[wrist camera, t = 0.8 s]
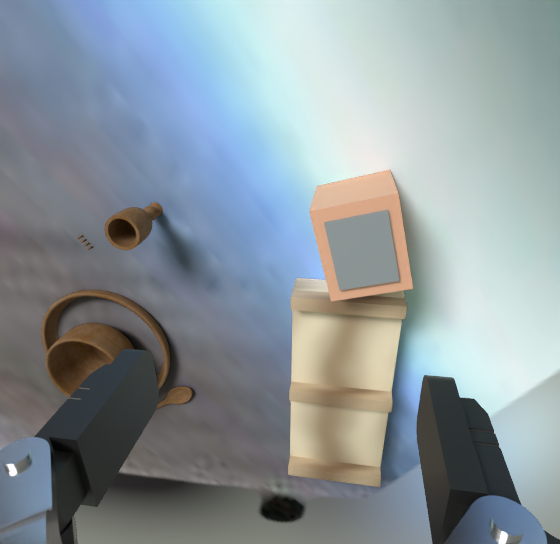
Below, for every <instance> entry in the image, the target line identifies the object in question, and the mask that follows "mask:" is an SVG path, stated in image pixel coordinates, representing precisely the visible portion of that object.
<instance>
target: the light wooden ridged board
mask: <svg viewBox="0 0 560 544" xmlns="http://www.w3.org/2000/svg"><path fill="white" fill-rule="evenodd" d="M291 310H293V325H292V381H291V387H290V394H289V401H291V436H290V460H289V466H288V475H294V476H302V477H309V478H316V479H324V480H331V481H339V482H346V483H354V484H361V485H369V486H376V487H380V483H381V470H380V466H381V459H382V452H383V446H384V439H385V432H386V425H387V419H388V412H391V410H392V404H393V401H392V392H391V391H392V385H393V378H394V371H395V364H396V358H397V351H398V344H399V337H400V331H401V324H402V319H405V318H406V311H407V304H406V299H405V295H404V290H403V291H396V292H390V293H383V294H377V295H370V296H364V297H357V298H351V299H344V300H338V301H331V299H330V295H329V291H328V287H327V282H326V280H319V279H305V278H296V281H295V285H294V288H293V292H292V296H291Z"/></svg>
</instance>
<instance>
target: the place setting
mask: <svg viewBox="0 0 560 544" xmlns="http://www.w3.org/2000/svg"><path fill="white" fill-rule="evenodd" d="M162 212H163V209H162V207H161V205H160V204H158V203H151V204H150V206H147V207H145V208H144V209H141V208H137V207H131V208H127V209H124V210H122V211H120V212H118V213H116V214H115V215H113V216H112V217H111V218H109V219H108V220H107V222H106V224H105V235H106V237H107V239H108V241H109V242H110V243H111V244H112V245H113V246H115V247H116V248H118V249H121V250H130V249H133V248H134V247H136V246H137V245H139V244H140V243H141V242H142V241H143V240H144V239H145V238H146V237H147V236H148V235H149V234H150V232H151V229H152V220H154V219H156V217H157V216H160V215H161V214H162ZM81 237H82V235H81V236H79V237H78V239H80V238H81ZM84 241H85V239H83V240H82V241H81V243H82V242H84ZM88 243H89V242H88ZM88 243H86V244H85V245H84V246H86V245H87V244H88ZM91 247H92V246H90V247H89V248H88V249H87V250H89V249H90V248H91ZM83 296H93V297H100V298H104V299H108V300H111V301H114V302H116V303H119V304H121V305H122V306H124V307H126V308H128V309H129V310H131V311H132V312H134V313H135V314H136V315H138V316H139V317H140V318H141V319H142V320H143V321H144V322H145V323H146V324H147V325H148V326H149V327H150V328H151V330H152V331H153V332H154V334H155V335H156V337H157V339H158V341H159V343H160V345H161V348H162V351H163V354H164V363H163V366H162V369H161V371H160V373H159V374H158V376H157V383H158V388H159V389H160V388H161V387H162V385H163V384H164V382H165V380H166V378H167V375H168V372H169V368H170V351H169V346H168V343H167V339H166V337H165V335H164V333H163V331H162V329H161V328H160V326H159V325H158V323H157V322H156V321H155V320H154V318H153V317H152V316H151V315H150V314H149V313H148V312H147V311H145V310H144V309H143V308H142V307H141V306H139V305H138V304H136V303H135V302H133V301H131V300H129V299H128V298H126V297H123V296H121V295H118V294H115V293H112V292H108V291H102V290H82V291H78V292H73V293H71V294H68V295H66V296H64V297H63V298H61V299H59V300H58V301H56V302H55V303H54V304H53V305H52V306H51V307H50V308H49V310H48V311H47V312H46V314H45V316H44V319H43V322H42V329H41V335H42V342H43V346H44V349H45V352H46V354H47V355H46V369H47V372H48V374H49V376H50V378H51V380H52V382H53V383H54V384H55V386H56V387H57V388H58V389H59V390H60V391H61V392H62V393H64V394H65V395H66V396H68V397H69V398H70V396H71V395H72V394H73V393H74V392H75V390H76V389H79V386H80V385H81V384H82V383H83V381H84V380H85V379H86V378H87V377H88V376H89V375H90V374H91V373H92V372H94V371H96V370H97V369H99V368H100V367H102V366H103V365H105V364H111V363H112V362H113V361H114V359H115V358H116V357H117V356H118V355H119V353H120V352H121V351H122V350H124V349H134V348H133V346H132V344H131V343H130V341H129V340H128V339H127V337H125V336H124V335H123V334H122V333H121V332H120V331H118V330H117V329H115V328H113V327H111V326H108V325H105V324H101V323H85V324H81V325H79V326H76V327H74V328H73V329H71V330H69V331H68V332H67V333H66V334H64V335H63V336H62V337H61V338H60V339H59V340H58V335H57V323H58V319H59V315H60V314H61V312H62V310H63V309H64V307H65V306H66V305H67V304H69V303H70V302H71V301H73V300H75V299H77V298H79V297H83ZM192 394H193V391H192V390H191V389H190V388H189V387H184V386H181V387H175V388H173V389H171V390H170V391H169V392H168V394H167V396H166V398H165V399H164V400H163V401H161V402H159V403H158V404H157V407H156V409H158V408H160V407H162V406H164V405H167V404H183V403H186V402H188V401H189V400H190V398H191V397H192Z"/></svg>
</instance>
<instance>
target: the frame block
mask: <svg viewBox="0 0 560 544" xmlns="http://www.w3.org/2000/svg"><path fill="white" fill-rule="evenodd" d="M309 212H310V216H311V220H312V224H313V228H314V233H315V237H316V241H317V245H318V249H319V253H320V257H321V262H322V266H323V270H324V274H325V278H326V282H327V287H328V291H329V295H330V299H331V301H338V300H344V299H351V298H357V297H364V296H370V295H377V294H383V293H390V292H396V291H403V290H409V289H413V284H412V278H411V271H410V265H409V258H408V252H407V245H406V239H405V232H404V226H403V219H402V213H401V206H400V200H399V193H398V190H397V188H396V185H395V182H394V179H393V177H392V174H391V171H390V170H386V171H382V172H377V173H373V174H368V175H364V176H359V177H355V178H350V179H346V180H341V181H337V182H332V183H328V184H323V185H319V186H317V188H316V191H315V194H314V198H313V201H312V204H311V208H310V211H309Z"/></svg>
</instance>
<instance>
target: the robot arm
mask: <svg viewBox="0 0 560 544" xmlns="http://www.w3.org/2000/svg"><path fill="white" fill-rule="evenodd" d="M158 400H159V388H158V383H157V377H156V372H155V367H154V361H153V356H152V354H151V352H150V351H146V350H134V349H124V350H122V351H121V352H120V353H119V355H118V356H117V357H116V358H115V359H114V361H113V362H112V363H111V364H105V365H103V366H102V367H100V368H99V369H97V370H96V371H94V372H92V373H91V374H90V375H89V376H88V377H87V378H86V379H85V380H84V381H83V383H82V384H81V385H80V386H79V389H76V390H75V392H74V393H73V394H72V395H71V396H70V399H67V401H66V402H65V403H64V404H63V405H62V406H61V407H60V408H59V410H58V411H57V412H56V413H55V414H54V415H53V416H52V417H51V419H50V420H49V421H48V422H47V423H46V424H45V425H44V427H43V428H42V429H41V430H40V431H39V432H38V433H37V434H36V436H35V437H29V438H24V439H20V440H17V441H15V442H12V443H10V444H8V445H7V446H5V447H3V448H2V449H1V450H0V544H78V539H77V529H76V521H75V517H74V514H75V512H76V511H77V509H78V507H79V506H80V505H81V504H82V505H89V506H95V507H97V506H98V505H99V503H100V501H101V500H102V498H103V496H104V495H105V493H106V492H107V490H108V488H109V487H110V485H111V483H112V481H113V480H114V478H115V477H116V475H117V473H118V472H119V470H120V468H121V467H122V465H123V463H124V462H125V460H126V458H127V457H128V455H129V453H130V452H131V450H132V448H133V447H134V445H135V443H136V442H137V440H138V438H139V437H140V435H141V433H142V432H143V430H144V428H145V427H146V425H147V423H148V422H149V420H150V418H151V417H152V415H153V413H154V412H155V410H156V407H157V404H158ZM417 442H418V449H419V455H420V462H421V469H422V475H423V482H424V488H425V495H426V502H427V508H428V515H429V521H430V528H431V535H432V542H433V544H560V540H559V539H557V538H555V537H554V536H552V535H550V534H549V533H547V532H546V531H544V530H543V528H542V526H541V524H540V523H539V521H538V520H537V519H536V518H535V517H534V516H533V515H532V513H530V512H529V511H528V510H527V509H526V508H524V507H523V506H522V505H521V503H520V500H519V498H518V495H517V493H516V490H515V487H514V484H513V481H512V479H511V476H510V473H509V471H508V468H507V465H506V462H505V460H504V457H503V454H502V451H501V449H500V448H499V443H498V440H497V438H496V435H495V434H494V429H493V427H492V424H491V421H490V419H489V416H488V414H487V412H486V411H485V410H484V409H483V408H482V407H481V406H480V405H479V404H478V403H477V401H476V400H475V399H470V398H460V397H459V393H458V390H457V387H456V383H455V380H454V378H451V377H440V376H428V375H425V376H424V377H423V382H422V389H421V395H420V402H419V409H418V416H417Z"/></svg>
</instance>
